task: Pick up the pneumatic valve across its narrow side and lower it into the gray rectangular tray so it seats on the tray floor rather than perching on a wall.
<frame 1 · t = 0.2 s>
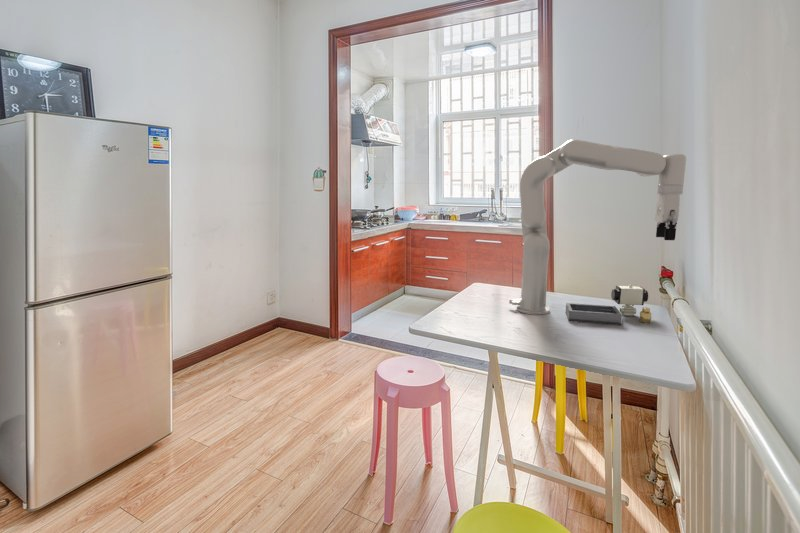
hand: (665, 238, 151), 30 cm above the table, fingers open, 9 cm apart
pneumatic valve: (627, 315, 162), on the table
gray rectangular tray: (591, 318, 157), on the table
brass fitting: (644, 322, 153), on the table
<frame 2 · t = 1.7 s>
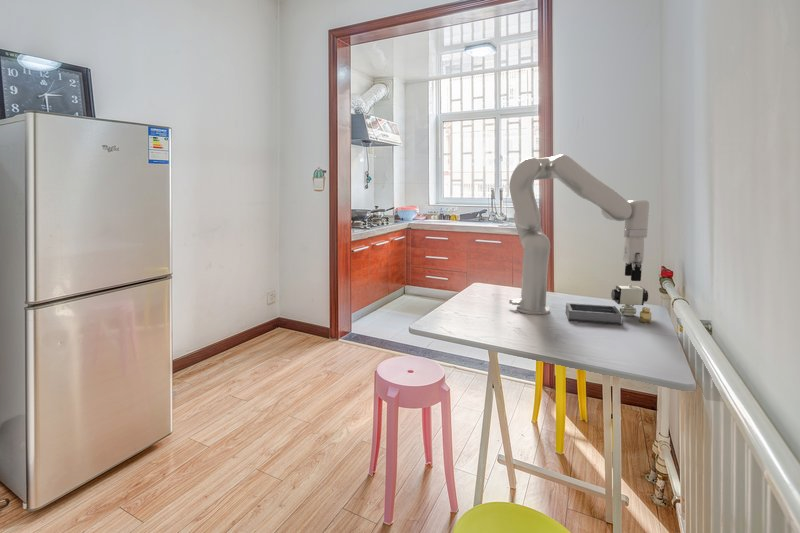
hand: (632, 278, 159), 14 cm above the table, fingers open, 9 cm apart
nothing on the table moved.
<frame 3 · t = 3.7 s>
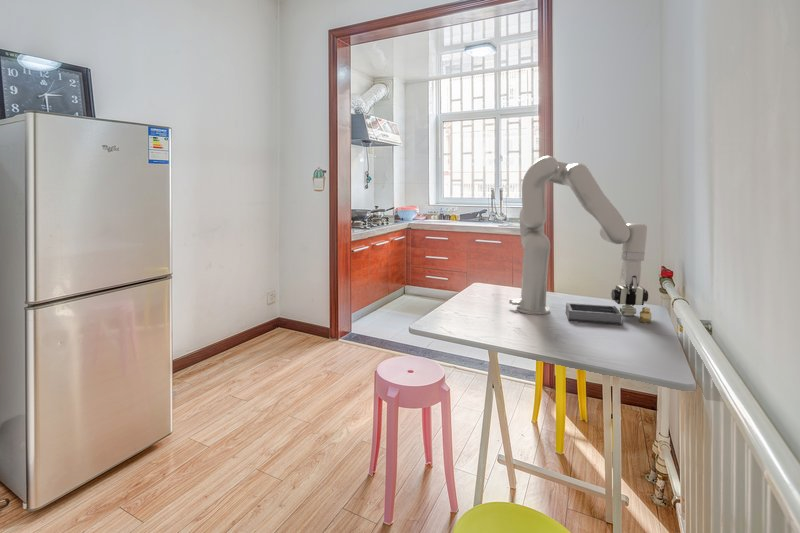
hand: (628, 302, 161), 5 cm above the table, fingers closed on pneumatic valve, 5 cm apart
pneumatic valve: (627, 315, 162), on the table, touching gripper
everything else where it was.
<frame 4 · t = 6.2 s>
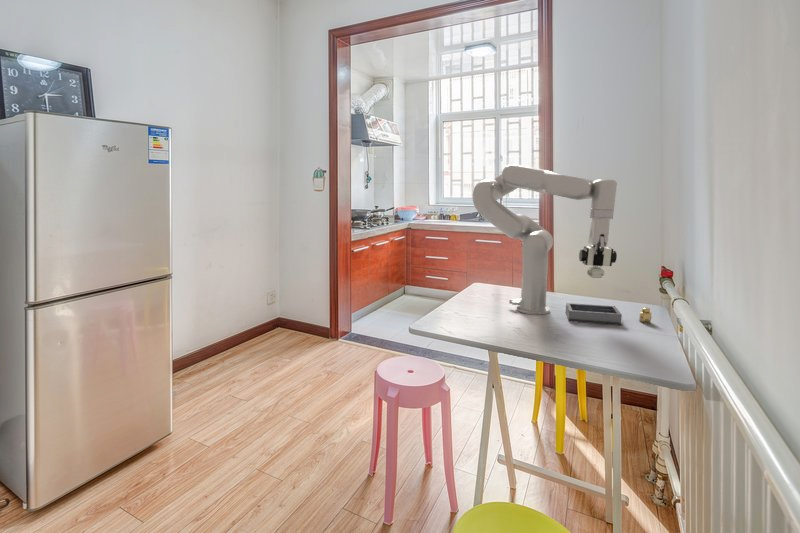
hand: (596, 263, 154), 21 cm above the table, fingers closed on pneumatic valve, 5 cm apart
pneumatic valve: (594, 277, 155), point 16 cm above the table, touching gripper
everything else where it was.
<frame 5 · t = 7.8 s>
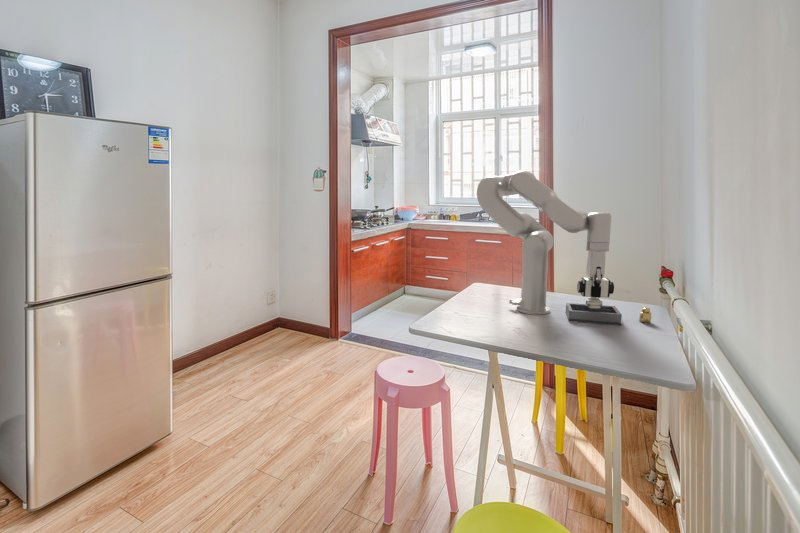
hand: (594, 294, 155), 9 cm above the table, fingers closed on pneumatic valve, 5 cm apart
pneumatic valve: (593, 308, 156), point 4 cm above the table, touching gripper
everything else where it was.
when the fingers open (7 cm above the table, at t = 9.0 s): pneumatic valve drops 1 cm, resting on gray rectangular tray.
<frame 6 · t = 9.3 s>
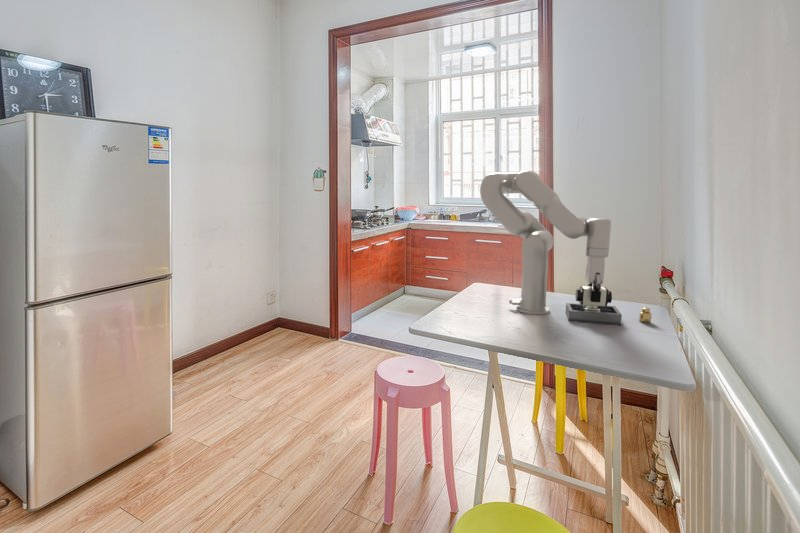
hand: (593, 298, 156), 8 cm above the table, fingers open, 8 cm apart
pneumatic valve: (591, 316, 157), point 1 cm above the table, touching gray rectangular tray
everything else where it was.
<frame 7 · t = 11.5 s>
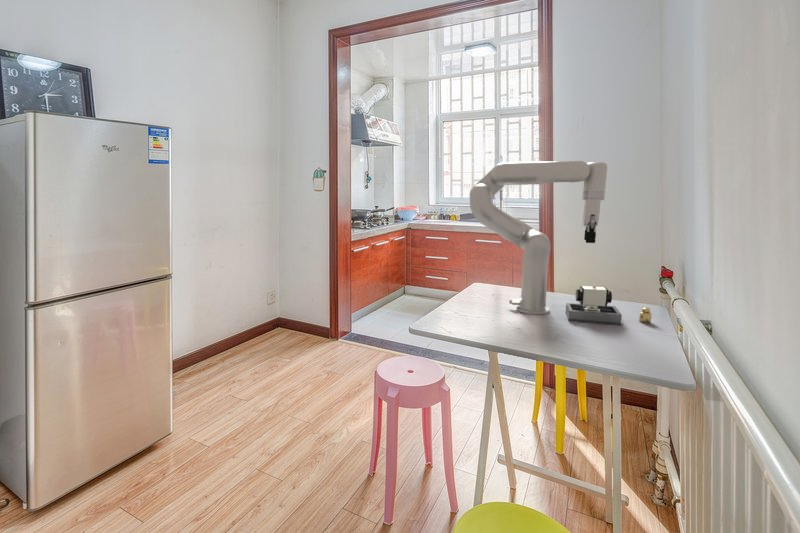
hand: (589, 241, 160), 28 cm above the table, fingers open, 9 cm apart
nothing on the table moved.
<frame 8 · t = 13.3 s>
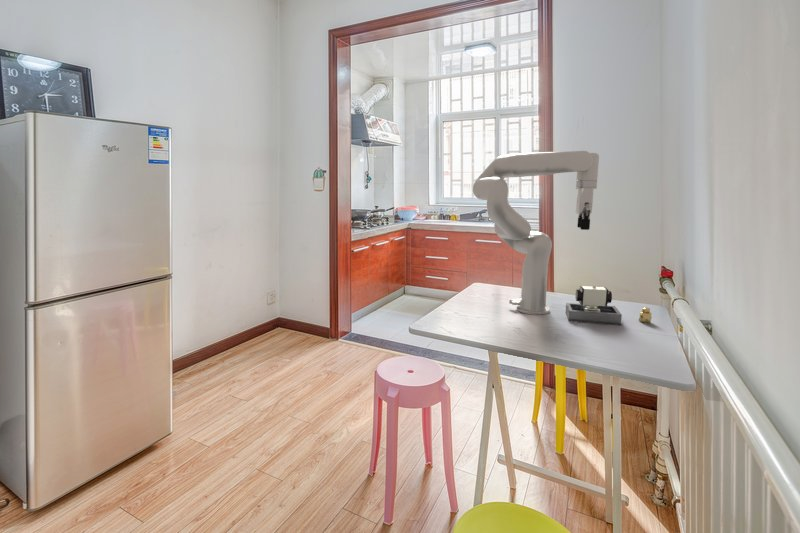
hand: (583, 228, 168), 32 cm above the table, fingers open, 9 cm apart
nothing on the table moved.
at the end: pneumatic valve inside the target area on the gray rectangular tray (0.3 cm from its centre), point 0.8 cm above the gray rectangular tray's base; pneumatic valve tilted 0°; the gripper is holding nothing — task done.
